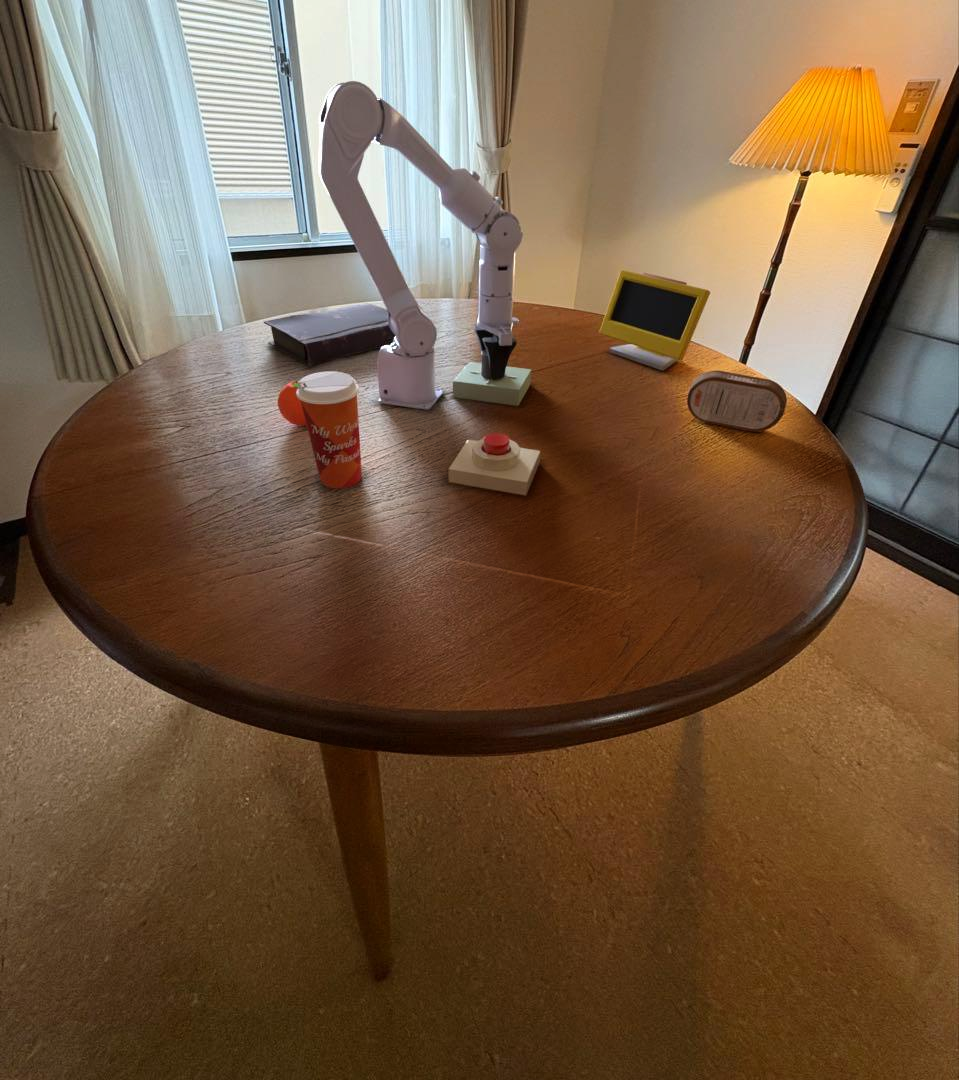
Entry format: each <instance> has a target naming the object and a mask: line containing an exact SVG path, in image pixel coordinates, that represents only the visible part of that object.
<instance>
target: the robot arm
mask: <svg viewBox="0 0 959 1080" xmlns="http://www.w3.org/2000/svg"><path fill="white" fill-rule="evenodd" d="M318 120H319V121H318V124H319V125H318V126H319V143H318V145H319V147H318V174H319V177H320V180H321V182H322V184H323V187H324V188H325V190H326V192H327V194H328V196H329V198H330V200H331V202H332V204H333V206H334V208H335V210H336V211H337V214H338V216H339V218H340V219H341V221H342V223H343V225H344V227H345V229H346V231H347V233H348V235H349V237H350V239H351V241H352V243H353V245H354V246H355V247H354V248H356V250H357V252H358V255H359V257H360V258H361V261H362V262H363V264H364V266H365V268H366V270H367V272H368V274H369V276H370V278H371V281H372V282H373V284H374V287H375V288H376V290H377V292H378V294H379V296H380V298H381V300H382V302H383V304H384V306H385V309H386V310H387V312H388V323H389V327H390V329H391V331H392V332H393V333H394V334H395V338H394V340H393V342H392V344H389V345H385V346H382V347H380V350H379V351H378V355H377V360H376V370H377V372H376V373H377V381H378V391H379V392H378V393H379V399H378V400H377V402H378V403H379V404H383V405H390V406H397V407H403V408H412V409H418V410H423V411H429V410H430V409H431V408H432V407H433V405H435V404H436V402H437V401H438V400H439V399H440V398H441V397H442V396H443V395H444V390H443V389H437V388H436V358H435V357H436V356H435V355H436V354H435V353H436V352H435V345H436V341H437V336H438V332H437V327H436V325H435V323H434V322H433V321H432V319H431V318H430V317H428V316H427V315H426V313H425V312H424V309H423V308H422V307H421V305H419V303H418V302H417V300H416V297H415V295H414V294H413V293H412V291H411V288H410V287H409V285H408V283H407V280H406V278H405V277H404V275H403V272H402V270H401V267H400V266H399V264H398V261H397V259H396V257H395V255H394V253H393V251H392V249H391V247H390V245H389V242H388V240H387V238H386V236H385V234H384V232H383V229H382V227H381V225H380V223H379V221H378V219H377V217H376V214H375V213H374V210H373V208H372V206H371V204H370V201H369V200H368V198H367V196H366V194H365V191H364V189H363V187H362V185H361V183H360V181H359V173H360V170H361V167H362V163H363V160H364V157H365V153H366V152H367V150H368V148H369V147H370V146H371V144H372V143H374V144H377V145H380V146H384V147H388V148H391V149H394V150H395V151H396V152H398V153H399V154H400V155H401V156H402V157H403V158H404V159H405V160H406V161H407V162H408V163H410V164H411V165H412V166H413V167H414V168H415V169H417V171H418V172H420V174H421V175H423V176H424V177H425V178H427V179H428V180H429V181H430V182H431V183H432V184H433V185H434V186H435V187H436V188H438V193H439V200H440V201H439V202H440V204H441V205H442V207H444V208H445V209H446V211H448V212H449V213H450V214H451V215H452V216H453V217H454V218H455V219H456V220H458V221H459V222H460V223H461V224H462V225H463V226H464V227H465V228H466V229H467V230H468V231H469V232H470V233H472V234H474V236H475V239H476V241H477V243H480V245H479V267H478V268H479V269H478V317H477V321H476V324H477V325H476V326H474V327H473V331H474V332H475V333H474V334H475V335H476V338H477V341H478V344H479V347H480V353H481V352H482V351H483V350H486V351H487V354H488V360H489V370H490V375H491V378H492V379H499V378H503V376H504V373H505V370H506V366H508V363H509V360H510V356H511V354H512V352H513V351H514V349H515V348H516V346H517V344H518V340H517V339H516V338H515V337H513V335H514V334H513V327H514V326H517V325H519V324H520V323H519V322H520V320H519V319H518V318H517V317H515V316H513V308H514V307H513V306H514V289H515V273H516V272H515V271H516V251H517V249H518V248H519V247H520V246H521V243H522V240H523V237H524V233H523V232H522V230H521V229H522V228H521V226H520V221H519V219H518V217H516V215H514V214H513V213H511V212H510V211H507V210H505V209H503V207H502V205H503V203H504V202H503V200H502V199H501V198H500V197H499V196H495V197H494V195H493V194H491V193H490V192H489V191H488V189H487V188H486V187H484V185H482V184H481V182H480V180H481V176H480V175H479V174H478V172H476V171H475V170H471V171H468V169H467V168H465V167H462V168H455V169H453V168H452V167H451V166H450V165H449V164H448V163H447V162H446V160H444V158H443V157H442V156H441V155H440V154H439V153H438V152H437V151H436V149H434V148H433V147H432V145H430V143H429V142H427V140H426V139H425V138H424V137H423V136H422V135H421V134H420V132H418V131H417V130H416V129H415V127H414V126H413V124H411V123H410V122H409V121H408V119H406V118H405V117H404V116H403V115H402V113H400V112H399V111H397V110H396V109H395V108H394V107H393V106H392V105H391V104H390V103H388V102H387V101H385V100H384V99H383V98H381V97H377V95H376V94H375V92H374V91H373V90H372V89H371V88H370V87H369V86H368V85H366V84H365V83H363V82H360V81H356V80H349V81H346V82H340V83H336V84H335V85H333V86H332V87H331V88H330V89H329V91H328V92H327V94H326V96H325V98H324V102H323V105H322V108H321V110H320V113H319V116H318Z"/></svg>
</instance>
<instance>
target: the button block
mask: <svg viewBox="0 0 959 1080" xmlns="http://www.w3.org/2000/svg"><path fill="white" fill-rule="evenodd" d="M483 440H484V437H483V438H481V439H479V440H473V439H467V440H466V441H465V443H464V445H463V446H462V448H461V449H460V451H459V452H458V454H457V455H456V457H455V458H454V460H453V461H452V463H451V464H450V465H449V467H448V483H451V484H457V485H463V486H468V487H469V486H470V487H475V488H481V489H486V490H491V491H497V492H504V493H509V494H515V495H520V496H527V494H528V492H529V489H530V487H531V484H532V482H533V480H534V477H535V475H536V472H537V471H538V467H539V465H540V459H541V450H538V449H530V448H524V447H520V445H519V444H518V443H517V442H516V441H514V440H512V439H510V445H509V452H508V453H507V454H505V455H499V456H495V455H489V454H487V453H485V452H484V451H483Z"/></svg>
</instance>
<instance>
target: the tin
mask: <svg viewBox="0 0 959 1080" xmlns="http://www.w3.org/2000/svg"><path fill="white" fill-rule="evenodd" d="M687 391H688V392H687V394H686V406H687V408H688V411H689V413H690V414H691V415H692V416H693V417H694V419H696V420H698V421H700V422H703V423H706V424H707V423H708V424H712V425H717V426H722V427H727V428H731V429H736V430H742V431H745V432H751V433H758V432H759V433H760V432H764V431H766V430H769V429H771V428H773V427H774V426H776V425H777V424H778V423H779V422H780V421H781V419H782V418H783V416H784V414H785V411H786V407H787V400H788V398H787V394H786V392H785V390H784V388H783V387H782V385H780V384H779V383H778V382H777V381H774V380H771V379H769V378H762V377H758V376H751V375H747V374H742V373H735V372H731V371H725V370H717V369H716V370H715V369H714V370H709V371H705V372H703V373H701V374H699V375H698V376H696V377H695V378H694V380H693V381H692V382H691V383H690V385H689V388H688V390H687Z"/></svg>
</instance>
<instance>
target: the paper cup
mask: <svg viewBox="0 0 959 1080" xmlns="http://www.w3.org/2000/svg"><path fill="white" fill-rule="evenodd" d="M298 381H299V383H298V389H297V392H296V395H297V397H298V398H299V399H300V401H301V405H302V409H303V413H304V417H305V421H306V429H307V433H308V437H309V441H310V445H311V448H312V452H313V457H314V461H315V464H316V468H317V472H318V475H319V479H320V482H321V483H322V485H323V486H325V487H326V488H330V489H346V488H350V487H353V486H355V485H356V484H358V483H359V482H360V481H361V478H362V455H361V454H362V453H361V440H360V439H361V438H360V422H359V407H358V405H359V404H358V394H359V392H360V389H361V387H360V385H359V384H358V383H357V381H356V379H354V378H353V377H352V376H351V375H350V374H348V373H346V372H341V371H333V370H330V371H329V370H328V371H319V372H314V373H310V374H307V375H306V376H303V377H302V378H301V379H300V380H298Z"/></svg>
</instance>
